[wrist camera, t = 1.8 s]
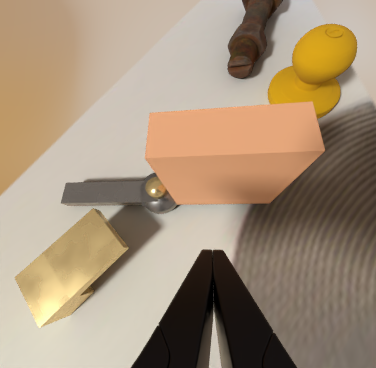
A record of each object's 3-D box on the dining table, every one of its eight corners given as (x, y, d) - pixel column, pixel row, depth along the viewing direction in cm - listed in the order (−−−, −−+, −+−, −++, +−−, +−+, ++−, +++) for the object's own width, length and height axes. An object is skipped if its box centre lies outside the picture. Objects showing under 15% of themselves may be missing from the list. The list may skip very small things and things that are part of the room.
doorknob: (257, 83, 26) (313, 64, 26) (285, 129, 23) (349, 108, 23) (272, 21, 19) (349, -6, 19) (316, 75, 16) (407, 44, 16)
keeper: (111, 215, 22) (93, 208, 19) (138, 248, 20) (123, 247, 17) (46, 274, 21) (14, 277, 17) (69, 315, 19) (39, 327, 16)
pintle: (167, 199, 20) (164, 195, 19) (148, 199, 20) (144, 196, 19) (168, 181, 21) (165, 176, 19) (150, 181, 21) (146, 177, 20)
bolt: (230, 92, 29) (253, 21, 33) (265, 82, 25) (286, 5, 29) (211, 58, 24) (240, -18, 28) (249, 41, 21) (276, -42, 25)
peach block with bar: (267, 213, 20) (328, 163, 9) (66, 214, 22) (-64, 177, 12) (262, 173, 21) (310, 91, 11) (74, 178, 24) (-34, 117, 13)
